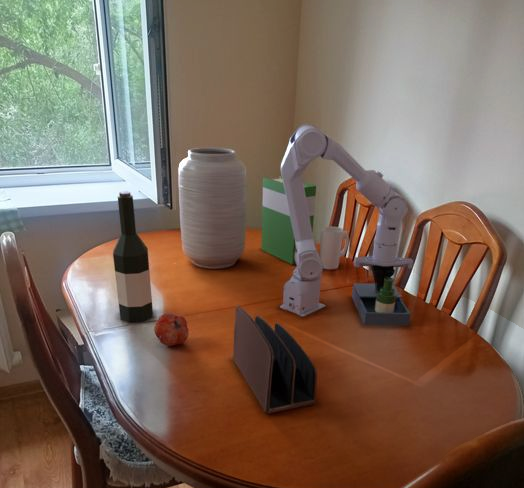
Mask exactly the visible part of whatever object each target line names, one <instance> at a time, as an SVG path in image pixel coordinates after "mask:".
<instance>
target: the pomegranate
mask: <svg viewBox="0 0 524 488" xmlns="http://www.w3.org/2000/svg"><path fill="white" fill-rule="evenodd" d="M153 332H154V335H155V337H156V338H157V339H158V341H159V342H160V344H162V345H164V346H167V347H173V346H176V345H181V344H183V343H185V341H186V340H187V339H188V338H189V328H188V322H187V320H186V318H185V317H184V316H183V315H181V314H175V313H172V312H168V313H164V314H161V315H160V316H159V317H158V318H157V320H156V321H155V325H154V327H153Z"/></svg>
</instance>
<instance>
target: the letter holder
mask: <svg viewBox="0 0 524 488" xmlns="http://www.w3.org/2000/svg"><path fill="white" fill-rule="evenodd" d="M232 350H233V351H232V361H233V362H234V363H235V365H236V366H237V368H238V370H239V372H240V373H241V375H242V376H243V378H244V380H245V382H246V383H247V385H248V386H249V388H250V390H251V391H252V393H253V395H254V396H255V398H256V399H257V401H258V403H259V404H260V406H261V408H262V410H263V411H264V413H265V414H266V415H270V414H274V413H278V412H283V411H288V410H293V409H297V408H302V407H307V406H312V405H315V404H316V398H317V383H318V382H317V381H318V371H317V368H316V365H315V363H314V362H313V361H312V359H311V357H310V356H309V354H308V353H306V351H305V350H304V349H303V347H302V346H301V345H300V343H299V342H298V341H297V340H296V339H295V338H294V337H293V336H292V335H291V333H290V332H288V330H287V329H286V328H285V327H283V325H281V324H279V323H274V328H272V326H271V325H270V324H269V323H268V322H267V321H266V320H265V319H264V318H262V317H261V316H259V315H256V316H255V317H254V318H253V317H252V316H251V315H250V314H249V313H248V312H247V311H246V310H245V309H244V308H243V307H242V306H240V305H236V306H235V309H234V326H233V349H232Z"/></svg>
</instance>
